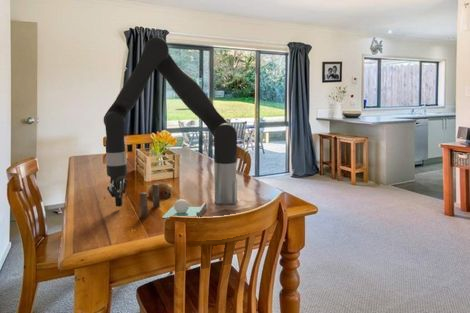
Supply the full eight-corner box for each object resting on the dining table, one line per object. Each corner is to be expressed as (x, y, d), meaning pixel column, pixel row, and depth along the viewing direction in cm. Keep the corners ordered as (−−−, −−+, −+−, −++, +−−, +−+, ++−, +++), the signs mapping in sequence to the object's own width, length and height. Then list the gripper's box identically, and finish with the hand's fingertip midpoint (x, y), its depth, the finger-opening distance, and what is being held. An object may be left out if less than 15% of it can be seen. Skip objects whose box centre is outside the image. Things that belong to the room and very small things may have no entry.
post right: (160, 205, 146) (159, 184, 144) (158, 207, 144) (157, 185, 142) (154, 204, 146) (153, 183, 145) (152, 206, 144) (151, 185, 142)
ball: (183, 194, 138) (174, 203, 139) (178, 198, 132) (169, 207, 134) (193, 204, 138) (184, 213, 139) (188, 209, 132) (179, 218, 134)
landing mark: (207, 207, 143) (207, 207, 143) (198, 219, 129) (198, 219, 129) (173, 206, 145) (173, 205, 145) (161, 218, 131) (161, 217, 131)
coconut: (164, 199, 166) (159, 183, 167) (178, 194, 160) (172, 177, 160) (147, 204, 159) (142, 188, 159) (160, 199, 152) (154, 181, 153)
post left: (148, 215, 134) (147, 192, 132) (146, 217, 131) (145, 194, 130) (142, 215, 134) (141, 192, 133) (139, 217, 132) (138, 194, 130)
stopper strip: (206, 208, 142) (206, 202, 141) (199, 218, 130) (199, 212, 130) (204, 208, 142) (203, 202, 141) (196, 218, 130) (196, 212, 130)
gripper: (117, 166, 130) (120, 211, 133) (132, 160, 143) (135, 201, 146) (98, 166, 131) (101, 211, 134) (115, 159, 144) (118, 200, 147)
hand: (119, 205), depth 140 cm, fingers closed
